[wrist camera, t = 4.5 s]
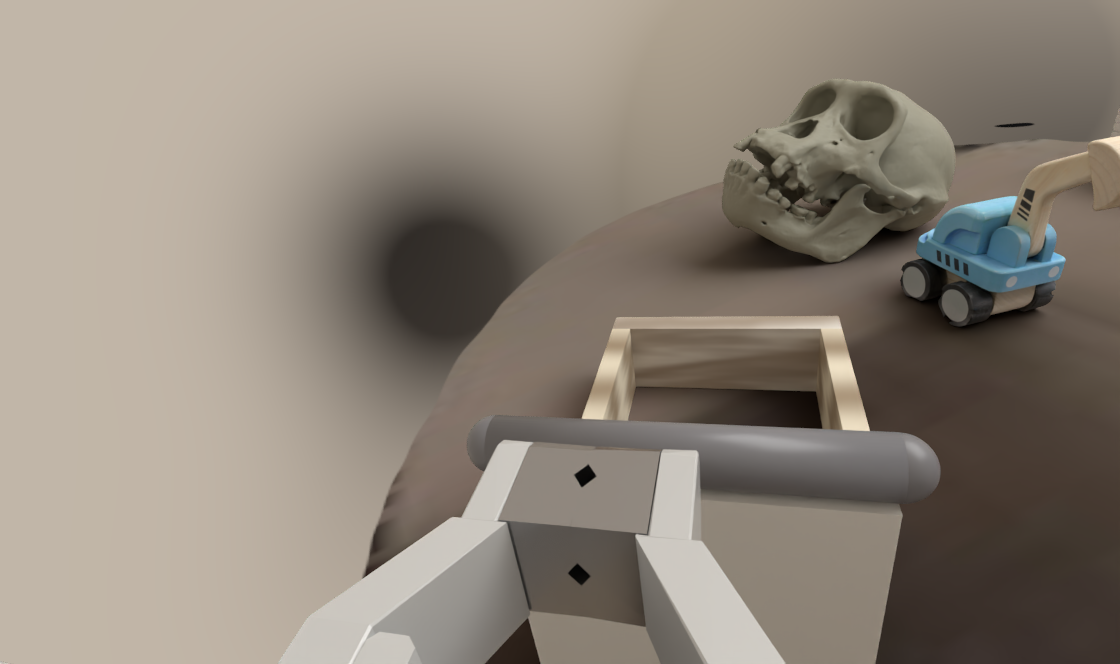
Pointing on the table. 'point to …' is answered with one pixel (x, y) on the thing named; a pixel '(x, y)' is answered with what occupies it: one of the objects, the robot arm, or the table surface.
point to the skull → (842, 170)
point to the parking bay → (729, 362)
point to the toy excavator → (1007, 241)
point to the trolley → (760, 528)
